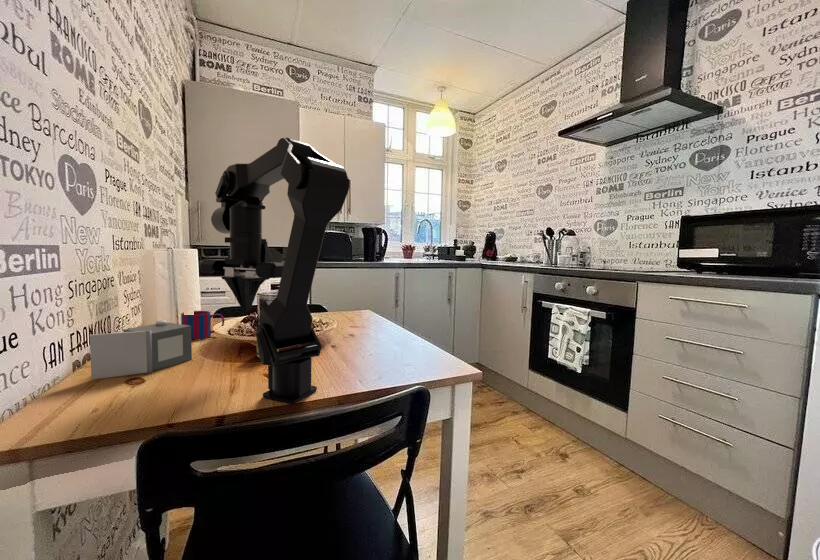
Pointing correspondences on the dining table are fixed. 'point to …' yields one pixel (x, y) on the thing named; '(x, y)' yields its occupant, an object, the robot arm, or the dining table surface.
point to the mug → (199, 324)
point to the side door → (120, 354)
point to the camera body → (168, 343)
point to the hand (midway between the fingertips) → (246, 311)
